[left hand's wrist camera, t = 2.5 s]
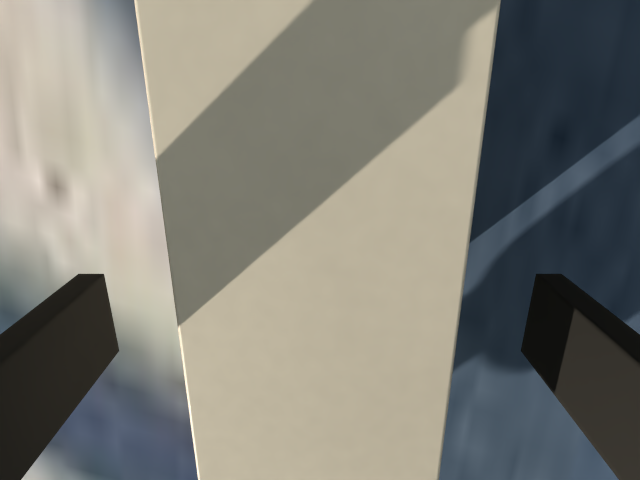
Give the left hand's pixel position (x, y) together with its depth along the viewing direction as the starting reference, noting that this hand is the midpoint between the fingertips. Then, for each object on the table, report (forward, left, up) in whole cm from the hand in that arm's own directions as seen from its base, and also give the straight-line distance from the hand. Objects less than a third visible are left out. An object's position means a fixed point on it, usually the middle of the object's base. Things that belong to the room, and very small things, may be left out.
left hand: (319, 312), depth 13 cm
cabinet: (+4, 0, -8) cm, 9 cm away
